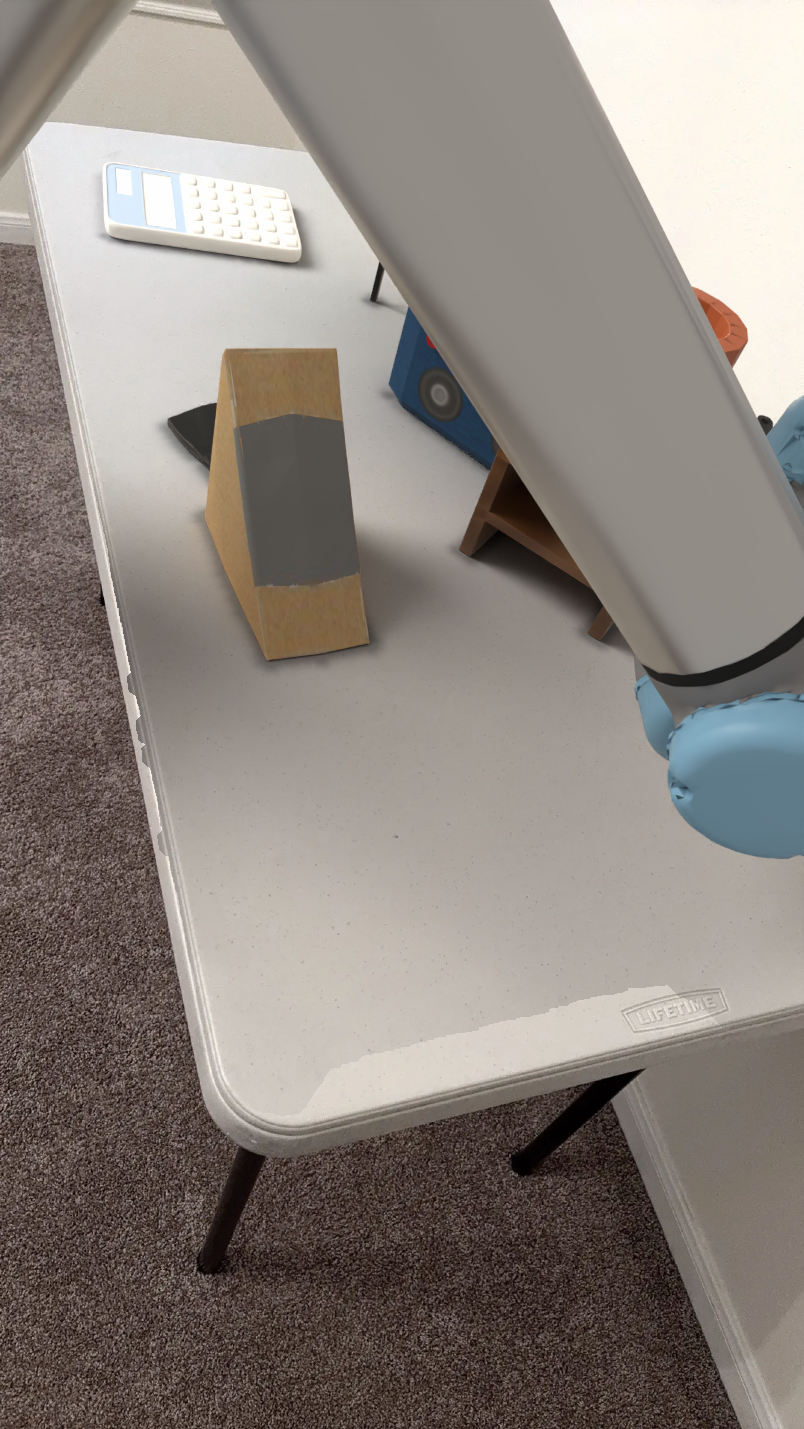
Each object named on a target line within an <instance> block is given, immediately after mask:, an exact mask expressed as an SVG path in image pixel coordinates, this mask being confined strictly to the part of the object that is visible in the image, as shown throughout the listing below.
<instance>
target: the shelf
mask: <svg viewBox="0 0 804 1429" xmlns="http://www.w3.org/2000/svg"><path fill="white" fill-rule="evenodd" d="M466 527H467V528H466V530H465V533H464V535H463V538H462V541H461V543H460V545H459V548H458V550H459V551H460V552H461V553H463V554H465V555H466V556H468V557H472V556H473V555H474V554H475V553H476V552H477V551H478V550H479V549H480V548H482V546H484V545H485V544H486V543H487V542H488V541H489V540H490V539H491V538H492V537H493V536H494V535H495V534H496V533H497V532H498V531H500V532H502V533H503V534H505V535H507V536H508V537H510V538H511V539H513V540H514V541H516V542H517V543H519V544H521V545H522V546H524V547H525V548H527V549H528V550H530V551H531V552H532V553H534V554H536V555H538V556H539V557H541V558H543V559H544V560H546V561H547V562H548V563H550V564H552V565H553V566H555V567H557V568H558V569H560V570H561V571H563V572H564V573H566V574H568V575H569V576H571V577H572V578H574V579H575V580H577V581H578V582H580V583H581V584H583V585H585V586H586V587H588V588H589V589H591V590H593V589H592V587H591V585H590V584H589V582H588V581H587V579H586V578H585V576H584V575H583V573H582V572H581V570H580V569H579V567H578V566H577V564H576V562H575V561H574V559H573V558H572V556H571V555H570V553H569V552H568V550H567V549H566V547H565V546H564V544H563V542H562V541H561V539H560V538H559V536H558V535H557V533H556V532H555V530H554V529H553V527H552V526H551V524H550V523H549V521H548V519H547V518H546V516H545V515H544V513H543V512H542V510H541V509H540V507H539V506H538V504H537V503H536V501H535V500H534V498H533V496H532V495H531V493H530V492H529V490H528V489H527V487H526V486H525V484H524V483H523V481H522V480H521V478H520V476H519V475H518V473H517V472H516V470H515V469H514V467H513V466H512V464H511V463H510V461H509V460H508V458H507V457H506V455H505V453H504V452H503V450H502V449H501V447H499V449H498V452H497V454H496V457H495V459H494V462H493V464H492V467H491V469H490V470H489V472H488V474H487V477H486V480H485V482H484V484H483V487H482V489H481V492H480V495H479V497H478V499H477V502H476V505H475V507H474V510H473V512H472V514H471V517H470V520H469V522H468V525H467V526H466ZM614 624H615V622H614V621H613V619H612V618H611V616H610V615H609V613H608V612H607V610H606V609H605V607H604V605H603V604H602V606H601V609H600V610H599V611H598V614H597V616H596V617H595V619H594V621H593V622H592V624H591V625H590V627H589V629H588V631H587V634H588V635H589V636H591V637H592V638H594V639H595V640H597V641H601V640H602V639H603V637H604V636H605V635H606V634H607V632H608V631H610V629H611V628H612V626H613V625H614Z"/></svg>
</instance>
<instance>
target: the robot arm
mask: <svg viewBox="0 0 804 1429" xmlns="http://www.w3.org/2000/svg"><path fill="white" fill-rule="evenodd" d="M139 1H140V0H0V181H1V180H2V179H3V178H4V177H5V175H6V174H7V173H8V171H9V170H10V169H11V168H12V166H13V165H14V164H15V162H16V161H17V160H18V158H19V157H20V156H21V155H22V153H23V152H24V151H25V149H26V148H27V147H28V146H29V144H30V143H31V142H32V140H33V139H34V138H35V137H36V135H37V134H38V133H39V131H41V128H42V127H43V126H44V125H45V124H46V123H47V121H48V119H50V117H51V116H52V115H53V113H54V112H55V110H57V108H58V106H60V104H61V103H62V102H63V100H64V99H65V97H67V95H68V94H69V92H70V91H71V90H72V88H73V87H74V86H75V84H76V83H77V82H78V80H79V79H80V78H81V77H82V75H84V73H85V72H86V70H87V69H88V68H89V66H90V65H91V64H92V63H93V61H94V60H95V58H96V57H97V56H98V55H99V54H100V52H101V51H102V50H103V48H104V47H105V46H106V45H107V43H108V42H109V41H110V39H111V38H112V37H113V35H114V34H115V33H116V31H117V30H118V29H119V27H120V26H121V25H122V24H123V22H124V21H125V20H126V18H127V17H128V16H129V14H130V13H131V12H132V11H133V9H134V8H136V5H137V4H138V3H139ZM208 1H209V3H210V4H211V5H212V7H213V8H214V10H215V11H216V13H217V14H218V16H219V18H220V19H221V21H222V22H223V24H224V25H225V27H226V29H227V30H228V31H229V33H230V34H231V36H232V38H233V39H234V41H235V42H236V43H237V45H238V47H239V48H240V50H241V51H242V53H243V55H244V56H245V57H246V59H247V61H248V62H249V63H250V65H251V67H252V68H253V70H254V71H255V73H256V74H257V77H258V78H259V79H260V80H261V82H262V83H263V85H264V87H265V88H266V89H267V91H268V93H269V94H270V96H271V97H272V99H273V101H274V103H276V105H277V107H278V108H279V110H280V112H281V113H282V114H283V116H284V118H285V119H286V121H287V122H288V123H289V125H290V127H291V128H292V129H293V131H294V133H295V134H296V136H297V137H298V139H299V141H300V142H301V144H302V145H303V146H304V148H305V149H306V151H307V152H308V154H309V156H310V158H311V159H312V160H313V162H314V164H315V165H316V166H317V168H318V170H319V171H320V173H321V174H322V176H323V177H324V179H325V180H326V182H327V183H328V185H329V187H330V188H331V189H332V192H334V194H335V196H336V198H337V199H338V200H339V202H340V203H341V205H342V206H343V208H344V209H345V211H346V213H347V215H349V217H350V218H351V220H352V222H353V224H354V225H355V226H356V228H357V229H358V231H359V233H360V234H361V235H362V237H363V239H364V240H365V242H366V243H367V245H368V247H369V248H370V249H371V251H372V252H373V254H374V255H375V257H376V259H377V260H378V263H379V262H380V263H381V265H382V266H383V268H384V269H385V271H384V272H386V274H387V275H388V277H389V279H390V280H391V281H392V283H393V285H394V286H395V288H396V289H397V291H398V292H399V294H400V295H401V297H402V298H403V300H404V301H405V303H406V304H407V307H408V306H409V308H410V309H411V311H412V312H413V314H414V315H415V317H416V318H417V320H418V321H419V323H420V324H421V326H422V328H423V329H424V331H425V332H426V334H427V335H428V337H429V338H430V340H431V341H432V343H433V344H434V346H435V348H436V349H437V351H438V352H439V354H440V355H441V357H442V358H443V360H444V361H445V363H446V364H447V366H448V367H449V369H450V371H451V372H452V374H453V375H454V377H455V378H456V380H457V381H458V383H459V384H460V386H461V387H462V389H463V391H464V392H465V394H466V395H467V397H468V398H469V400H470V401H471V403H472V404H473V406H474V407H475V409H476V410H477V412H478V414H479V415H480V417H481V418H482V420H483V421H484V423H485V424H486V426H487V427H488V429H489V430H490V432H491V433H492V435H493V437H494V438H495V440H496V441H497V443H498V444H499V446H500V447H501V449H502V450H503V452H504V453H505V455H506V457H507V458H508V460H509V461H510V463H511V464H512V466H513V467H514V469H515V470H516V472H517V473H518V475H519V476H520V478H521V480H522V481H523V483H524V484H525V486H526V487H527V489H528V490H529V492H530V493H531V495H532V496H533V498H534V500H535V501H536V503H537V504H538V506H539V507H540V509H541V510H542V512H543V513H544V515H545V516H546V518H547V519H548V521H549V523H550V524H551V526H552V527H553V529H554V530H555V532H556V533H557V535H558V536H559V538H560V539H561V541H562V542H563V544H564V546H565V547H566V549H567V550H568V552H569V553H570V555H571V556H572V558H573V559H574V561H575V562H576V564H577V566H578V567H579V569H580V570H581V572H582V573H583V575H584V576H585V578H586V579H587V581H588V582H589V584H590V585H591V587H592V589H591V590H592V591H593V592H594V593H595V595H596V596H597V598H598V599H599V601H600V603H601V604H602V606H603V605H604V607H605V609H606V610H607V612H608V613H609V615H610V616H611V618H612V619H613V621H614V624H615V625H616V627H617V628H618V630H619V631H620V633H621V635H622V636H623V638H624V639H625V640H626V642H627V644H628V645H629V647H630V649H631V650H632V654H633V664H634V674H635V684H634V686H635V687H633V688H634V689H633V690H634V694H635V699H636V701H637V703H638V707H639V712H640V716H641V722H642V725H643V730H644V734H645V737H646V739H647V741H648V743H649V745H650V746H651V748H652V749H653V750H654V751H655V752H656V754H658V755H659V756H660V757H661V758H663V759H664V760H666V761H668V765H667V766H668V767H667V774H666V776H667V785H668V791H669V796H670V800H671V802H672V804H673V806H674V808H675V810H676V811H677V812H678V814H679V816H680V817H681V818H682V819H683V820H684V821H685V822H686V823H687V824H688V826H690V827H691V828H692V829H694V830H695V831H696V832H698V833H699V834H701V835H702V836H703V837H705V839H708V840H709V841H711V842H712V843H715V844H716V845H718V846H720V847H723V848H725V849H727V850H730V851H733V852H736V853H739V854H743V855H747V856H752V857H757V858H764V859H778V860H790V859H792V858H795V857H798V856H800V857H804V394H802V395H801V396H799V397H797V398H796V399H794V400H793V401H792V402H791V403H790V404H789V405H788V406H787V407H786V409H785V410H784V411H783V413H782V414H781V416H780V417H779V418H778V419H777V421H776V423H775V424H774V421H773V420H772V419H771V418H770V417H769V416H767V415H763V414H759V415H758V416H757V415H756V413H755V411H754V409H753V407H752V405H751V403H750V401H749V399H748V397H747V395H746V393H745V391H744V389H743V386H742V385H741V383H740V381H739V378H738V377H737V374H736V373H735V371H734V369H733V368H732V367H731V365H730V363H729V361H728V359H727V357H726V355H725V353H724V351H723V349H722V347H721V345H720V343H719V340H718V338H717V336H716V334H715V332H714V330H713V328H712V326H711V324H710V322H709V320H708V318H707V316H706V314H705V312H704V310H703V308H702V306H701V304H700V302H699V300H698V298H697V296H696V294H695V292H694V290H693V288H692V287H693V286H692V284H691V282H690V279H689V278H688V276H687V274H686V272H685V270H684V268H683V266H682V264H681V262H680V260H679V258H678V255H677V254H676V252H675V250H674V248H673V246H672V244H671V243H670V240H669V238H668V236H667V234H666V232H665V230H664V228H663V226H662V224H661V222H660V220H659V218H658V216H657V214H656V212H655V210H654V208H653V206H652V204H651V201H650V200H649V198H648V196H647V194H646V191H645V190H644V188H643V186H642V183H641V182H640V179H639V178H638V176H637V174H636V171H635V170H634V168H633V165H632V164H631V161H630V159H629V157H628V156H627V154H626V152H625V150H624V148H623V146H622V144H621V142H620V139H619V137H618V135H617V134H616V132H615V130H614V127H613V125H612V123H611V122H610V119H609V118H608V115H607V113H606V111H605V109H604V107H603V105H602V103H601V101H600V99H599V97H598V95H597V94H596V91H595V88H594V86H592V83H591V81H590V79H589V77H588V75H587V73H586V71H585V69H584V67H583V65H582V63H581V61H580V59H579V57H578V55H577V53H576V51H575V49H574V47H573V45H572V43H571V41H570V39H569V37H568V35H567V33H566V31H565V29H564V27H563V25H562V23H561V21H560V19H559V17H558V15H557V12H556V11H555V9H554V7H553V5H552V3H551V1H550V0H208Z"/></svg>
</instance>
